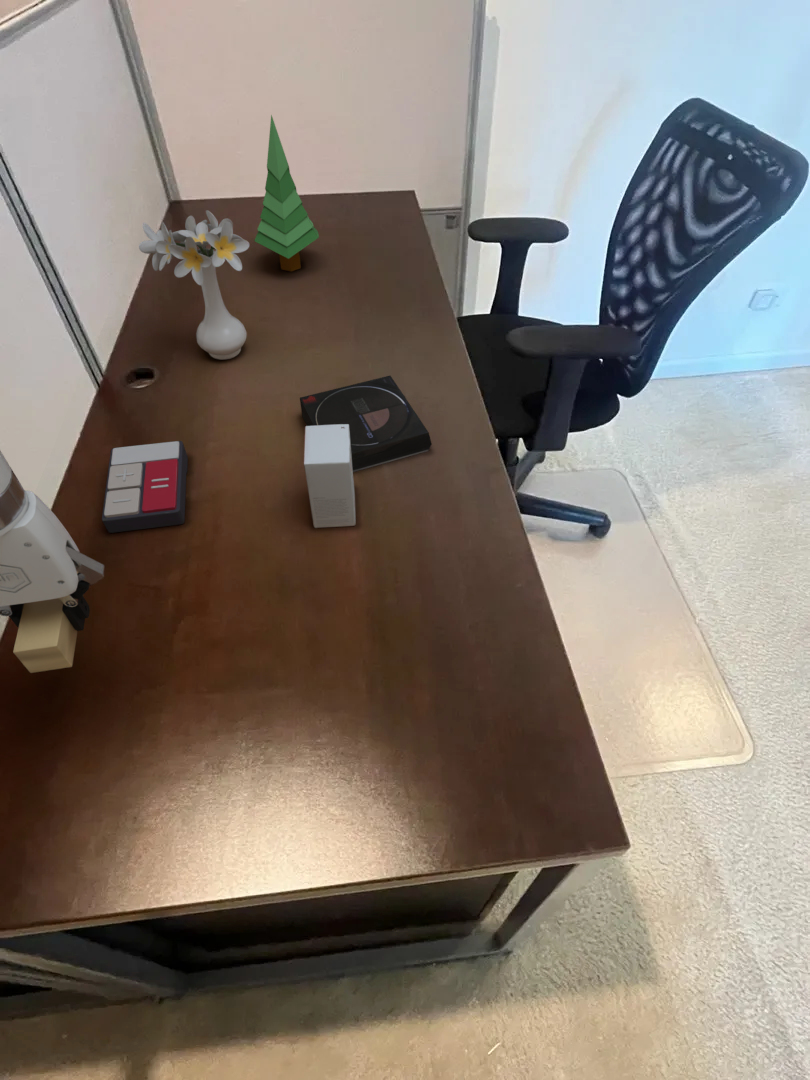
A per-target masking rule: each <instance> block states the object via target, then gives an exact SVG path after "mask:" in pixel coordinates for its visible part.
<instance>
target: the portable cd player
mask: <svg viewBox="0 0 810 1080" xmlns="http://www.w3.org/2000/svg"><path fill="white" fill-rule="evenodd" d="M299 402H300V403H299V404H300V411H301V416H302V419H303V420H304V423H305V425H306V426H317V425H337V424H349V431H350V443H351V456H352V469H353V473H356V472H359V471H363V470H366V469H369V468H374V467H376V466H380V465H384V464H388V463H391V462H395V461H398V460H402V459H406V458H408V457H409V458H410V457H413V456H416V455H420V454H423V453H426V452H429V450H430V449H431V446H432V445H433V444H432V440H431V436H430V432H429V430H428V429H427V427H426V426H425V425H424V423H423V422H422V420H421V418H420V417H419V416H418V414H417V412H416V411H415V410H414V408H413V407H412V405H411V403H410V402H409V400H408V399H407V398H406V396H405V395H404V394H403V392H402V390H401V389H400V388H399V386H398V384H397V383H396V382H395V380H394V379H393V377H392V375H386V376H383V377H378V378H373V379H370V380H365V381H362V382H361V381H360V382H357V383H354V384H350V385H345V386H341V387H338V388H337V387H336V388H333V389H329V390H324V391H321V392H318V393H313V394H309V395H304V396H301V397H299Z"/></svg>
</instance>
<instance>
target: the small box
mask: <svg viewBox="0 0 810 1080" xmlns="http://www.w3.org/2000/svg"><path fill="white" fill-rule="evenodd" d="M303 442H304V443H303V444H304V445H303V468H304V474H305V479H306V486H307V492H308V498H309V499H308V500H309V505H310V511H311V519H312V524H313V528H315V529H318V528H319V529H320V528H336V527H337V528H338V527H339V528H340V527H353V526H356V525H357V524H356V522H357V521H356V492H355V491H356V490H355V482H354V480H355V479H354V472H353V469H352V456H351V443H350V431H349V424H337V425H317V426H307V425H306V426H304V440H303Z"/></svg>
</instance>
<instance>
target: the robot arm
mask: <svg viewBox="0 0 810 1080" xmlns="http://www.w3.org/2000/svg"><path fill="white" fill-rule="evenodd" d="M105 570H106V565H105V564H104V563H102V562H99V561H97V560H95V559H93V558H91V557H89V556H88V555H85V554H84V553H82V552H80V550H79V547H78V546H77V544H76V542H75V541H74V539H73V538H72V536H71V534H70V533H69V531H68V530H67V529H66V527H65V526H64V524H63V523H62V522H61V521H60V520H59V518H58V516H56V514H55V513H54V512H53V511H52V510H51V508H50V507H49V506H47V504H46V503H45V502H44V501H43V500H42V499H41V498H40V497H39V496H38V495H37V494H36V493H34V491H32V490H25V489H24V487H23V485H22V483H21V482H20V480H19V479H18V476H16V474H15V471H13V468H12V467H11V465H10V464H9V461H8V460H7V459H6V457H5V455H4V453H3V452H2V450H1V449H0V616H2V617H9V618H10V620H11V621H12V622H13V623H14V625H15V626H16V627H17V629H18V628H19V624H20V619H21V615H22V611H23V606H24V603H30V602H37V601H43V600H50V599H56V598H58V599H59V600H60V601H61V602H62V603H63V607H62V611H63V612H64V614H65V615H66V617H67V618H68V620H69V621H70V623H71V624H72V626H73V627H74V629H75V630H77V631H78V632H81V631H84V629H85V621H86V619H88V618H89V617H90V612H91V609H90V605H89V603H88V602H87V600H86V598H85V596H84V595H85V594H86V593H87V592H88V591H89V589H90V587H91V586H95V584H97V583H98V582H100V581H102V580H103V579H104V578H105ZM76 571H77V572H79V573H78V574H77V572H76Z"/></svg>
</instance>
